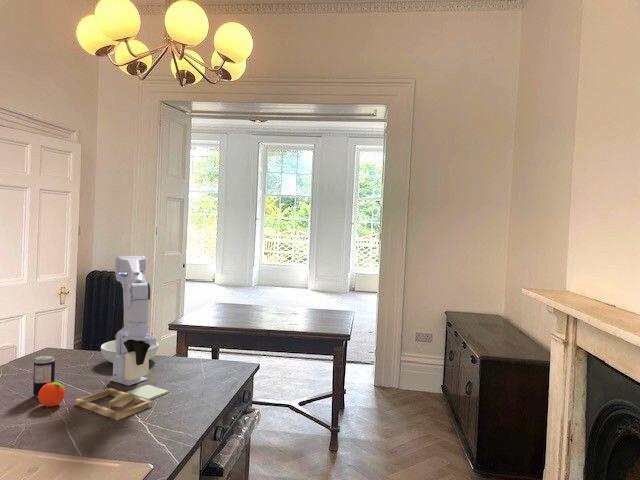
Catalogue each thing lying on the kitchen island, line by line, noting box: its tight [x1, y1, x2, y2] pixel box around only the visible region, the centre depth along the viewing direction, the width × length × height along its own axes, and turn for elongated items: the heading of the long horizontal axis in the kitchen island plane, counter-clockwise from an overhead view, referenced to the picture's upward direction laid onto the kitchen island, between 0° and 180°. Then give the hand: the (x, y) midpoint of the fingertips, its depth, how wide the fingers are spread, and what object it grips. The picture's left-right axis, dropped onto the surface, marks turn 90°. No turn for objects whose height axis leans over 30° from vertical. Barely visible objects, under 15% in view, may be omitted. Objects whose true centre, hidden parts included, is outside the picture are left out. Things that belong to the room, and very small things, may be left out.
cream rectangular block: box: [125, 349, 150, 380], centre depth 147 cm, size 2×7×8 cm, turn 150°
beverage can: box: [32, 354, 56, 399], centre depth 145 cm, size 6×6×12 cm
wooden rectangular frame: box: [75, 387, 153, 421], centre depth 140 cm, size 19×12×2 cm, turn 61°
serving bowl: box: [100, 339, 159, 364], centre depth 182 cm, size 21×21×7 cm
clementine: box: [38, 381, 67, 407], centre depth 138 cm, size 8×7×7 cm
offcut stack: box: [108, 394, 136, 412], centre depth 137 cm, size 4×7×4 cm, turn 173°
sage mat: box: [125, 384, 170, 401], centre depth 150 cm, size 10×8×1 cm
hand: (137, 363), depth 147 cm, fingers closed on cream rectangular block, 2 cm apart
